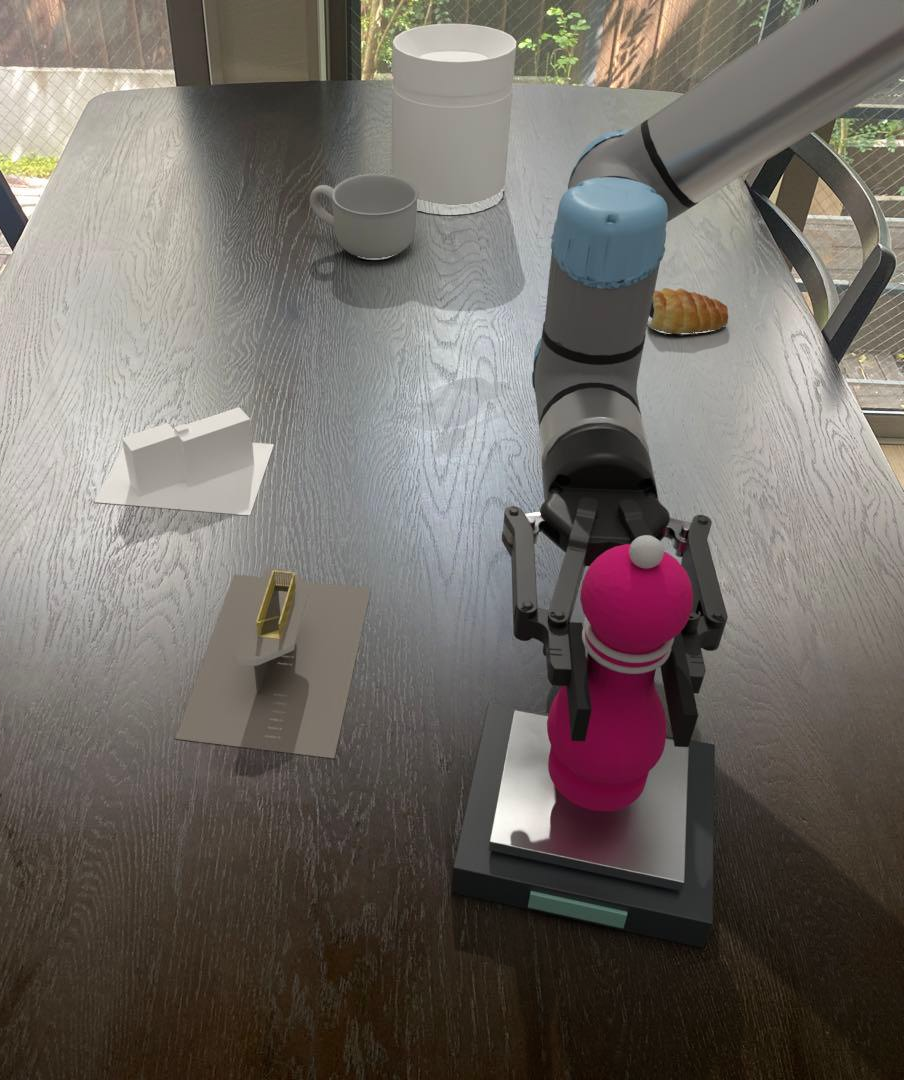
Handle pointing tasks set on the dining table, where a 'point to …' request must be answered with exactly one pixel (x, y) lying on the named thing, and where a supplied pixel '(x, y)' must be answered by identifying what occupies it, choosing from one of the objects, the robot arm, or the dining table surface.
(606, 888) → the scale
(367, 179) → the teacup
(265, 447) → the white flat upright-walled piece
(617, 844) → the pan
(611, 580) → the pepper mill
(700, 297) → the pastry
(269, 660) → the platform
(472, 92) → the canister
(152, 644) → the dining table surface
